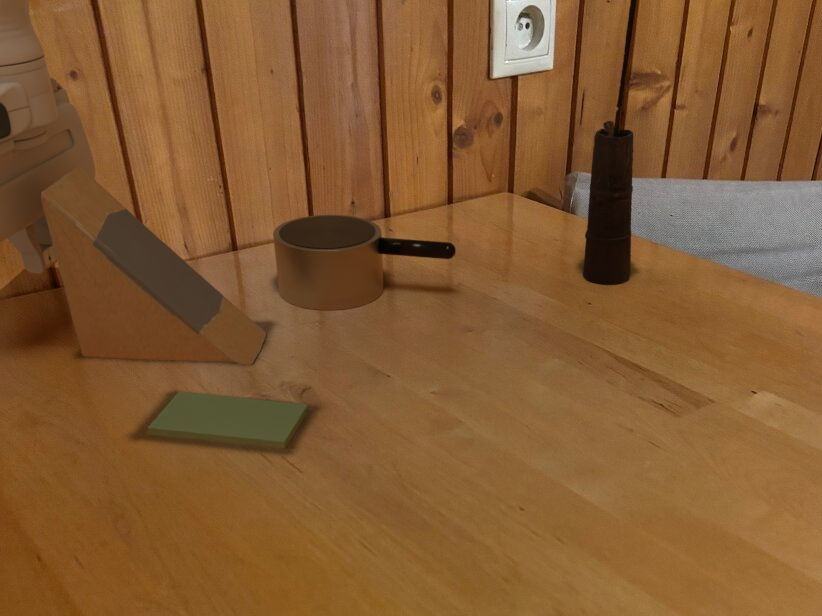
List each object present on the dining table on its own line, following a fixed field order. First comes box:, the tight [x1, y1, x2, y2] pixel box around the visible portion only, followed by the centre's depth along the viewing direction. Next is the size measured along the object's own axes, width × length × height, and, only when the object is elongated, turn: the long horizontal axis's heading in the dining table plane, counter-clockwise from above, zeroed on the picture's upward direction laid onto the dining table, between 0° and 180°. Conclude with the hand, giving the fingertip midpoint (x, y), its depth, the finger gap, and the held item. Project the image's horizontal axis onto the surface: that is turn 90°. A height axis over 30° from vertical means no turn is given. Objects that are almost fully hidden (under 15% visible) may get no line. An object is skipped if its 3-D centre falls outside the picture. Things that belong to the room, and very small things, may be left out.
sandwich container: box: [41, 166, 268, 366], centre depth 83 cm, size 9×15×15 cm, turn 86°
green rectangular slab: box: [147, 391, 309, 449], centre depth 75 cm, size 12×7×2 cm, turn 80°
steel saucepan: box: [272, 214, 457, 311], centre depth 97 cm, size 19×11×6 cm, turn 80°
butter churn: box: [582, 0, 637, 285], centre depth 95 cm, size 9×10×28 cm
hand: (43, 267), depth 85 cm, fingers closed
